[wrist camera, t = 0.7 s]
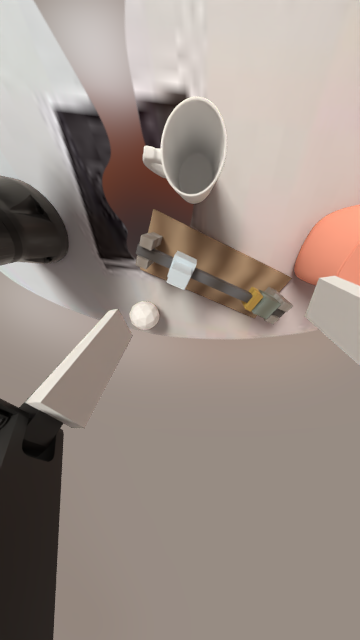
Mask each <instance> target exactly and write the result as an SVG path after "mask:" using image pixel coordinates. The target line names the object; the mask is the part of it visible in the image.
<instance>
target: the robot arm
mask: <svg viewBox="0 0 360 640" xmlns="http://www.w3.org/2000/svg"><path fill="white" fill-rule="evenodd" d="M67 250H68V237H67V233H66V230H65V227H64V225H63V222H62V220H61V218H60V217H59V215H58V213H57V212H56V210H55V209H54V207H53V206H52V205H51V204H50V202H49V201H48V200H47V199H46V198H45V197H44V196H43V195H42V194H41V193H40V192H39V191H37V190H36V189H35V188H33V187H32V186H30V185H29V184H27V183H25V182H23V181H21V180H18V179H14V178H9V177H5V176H0V265H4V264H8V263H13V262H28V263H42V264H47V263H52V262H56V261H59V260H61V259H62V258H63V257H64V256H65V255H66V253H67ZM305 317H306V318H307V319H308V320H309V321H310V322H311V323H313V324H314V325H315V326H316V327H317V328H318V329H319V330H320V331H321V332H323V333H324V334H325V335H326V336H327V337H328V338H329V339H330V340H332V341H333V342H334V343H335V344H336V345H337V346H338V347H339V348H340V349H342V350H343V351H344V352H345V353H346V354H347V355H348V356H350V357H351V358H352V359H353V360H354V361H355V362H356V363H357V364H359V365H360V286H359V285H356V284H354V283H351V282H349V281H347V280H344V279H342V278H339V277H337V276H329V277H322V278H319V279H318V282H317V285H316V287H315V290H314V293H313V295H312V298H311V301H310V303H309V306H308V309H307V311H306V314H305ZM132 336H133V335H132V333H131V331H130V330H129V328H128V326H127V324H126V322H125V321H124V319H123V317H122V315H121V313H120V312H119V310H118V309H115V310H109V311H108V312H107V313H106V314H105V316H104V317H103V318H102V319H101V320H100V321H99V322H98V323H97V324H96V326H94V328H93V329H92V330H91V331H90V332H89V333H88V334H87V335H86V336H85V337H84V339H83V340H82V341H81V342H80V343H79V344H78V345H77V346H76V347H75V348H74V350H73V351H72V352H71V353H70V354H69V355H68V356H67V357H66V358H65V359H64V360H63V361H62V362H61V363H60V364H59V365H58V367H57V368H56V369H55V370H54V371H53V372H52V373H51V375H50V376H48V377H47V378H46V380H45V381H44V382H43V383H42V384H41V385H40V386H39V387H38V388H37V389H36V391H35V392H34V393H33V394H32V395H31V396H30V397H29V398H28V399H27V400H26V402H24V403H23V404H22V405H21V407H19V408H18V407H16V406H14V405H12V404H10V403H8V402H6V401H4V400H2V399H0V640H53V630H54V610H55V591H56V572H57V551H58V532H59V513H60V493H61V474H62V473H61V472H62V455H63V454H62V453H63V435H64V434H63V430H62V429H60V428H61V426H62V425H63V423H64V424H66V425H68V426H69V427H71V428H85V426H86V424H87V422H88V421H89V419H90V417H91V415H92V413H93V411H94V409H95V407H96V405H97V403H98V401H99V399H100V397H101V395H102V394H103V392H104V390H105V388H106V386H107V384H108V382H109V380H110V378H111V376H112V374H113V372H114V371H115V369H116V367H117V365H118V363H119V361H120V359H121V357H122V355H123V353H124V351H125V349H126V347H127V346H128V344H129V342H130V340H131V338H132Z"/></svg>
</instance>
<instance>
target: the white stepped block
mask: <svg viewBox="0 0 360 640" xmlns="http://www.w3.org/2000/svg"><path fill="white" fill-rule="evenodd" d="M196 265H197V259H195V258H193V257H190V256H188V255H186V254H184V253H182V252H180V251H177V252H176V253H175V255H174V258H173V261H172V264H171V267H170V269H169V272H168V275H167V277H168V279H167V282H166V283H168V284H171V285H173V286H175V287H178V288H180V289H182V290H185V288H186V285H187V284H188V282H189V280H190V278H191V276H192V274H193V271H194V269H195V267H196Z"/></svg>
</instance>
